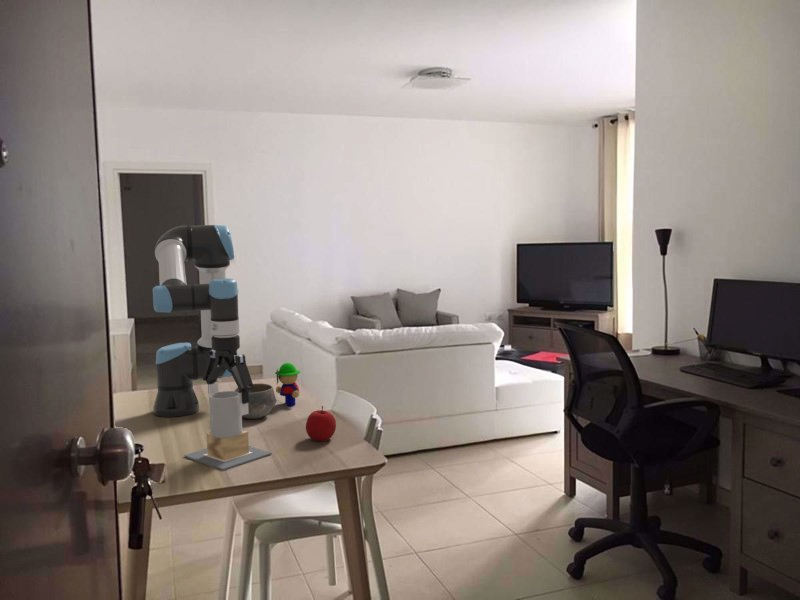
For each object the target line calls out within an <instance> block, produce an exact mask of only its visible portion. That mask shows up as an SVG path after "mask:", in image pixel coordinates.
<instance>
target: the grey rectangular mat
mask: <svg viewBox="0 0 800 600" xmlns="http://www.w3.org/2000/svg"><path fill="white" fill-rule="evenodd" d="M271 455H273V453H272V452H270V451H267V450H264V449H260V448H256V447H254V446H251V445H250V446H249V453H247V454H243V455H240V456H237V457H234V458H231V459H228V460H222V459H219V458H216V457H213V456H210V455H208V454H207V448H204V449H201V450H197V451H194V452H190V453H187V454H184V458H186V459H189V460H191V461H195V462H197V463H200V464H203V465H206V466H209V467H212V468H215V469H217V470H220V471H227V470H229V469H232V468H235V467H238V466H242V465H245V464H247V463H251V462H254V461H256V460H259V459H262V458H265V457H269V456H271Z"/></svg>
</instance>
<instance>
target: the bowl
mask: <svg viewBox="0 0 800 600" xmlns="http://www.w3.org/2000/svg"><path fill="white" fill-rule="evenodd" d="M248 386H249V385H248ZM253 386H254V389H252V390H249V403H248V411H249V414H246V415H242V418H245V419H250V420H257V419H260V418H263V417H265V416H267V415H268V414H269V413H271V411H272V409H273V408H274V406H275V405H276V403H277V401H278V400H277V399H276V395H275V390H274V387H273V386H272V385H271V384H268V383H253ZM242 387H243V386H242ZM234 391H235V392H238V391H239V388H238V386H236V388H235V390H234Z"/></svg>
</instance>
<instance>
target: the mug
mask: <svg viewBox="0 0 800 600" xmlns="http://www.w3.org/2000/svg"><path fill="white" fill-rule="evenodd" d="M208 402H209V404H208V406H209V420H210V421H209V423H210V424H209V425H210V429H209V431H210V432H211V436H212V437H215V438H231V437H236V436H238V435H240V434H242V430H243V416H239V408H238V392H235V390H234V391H233V390H232V391H231V390H226V391H224V390H223V391H218V392H217V393H213V394H211V395H210V396H209V395H208ZM210 432H209V433H210Z"/></svg>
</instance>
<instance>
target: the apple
mask: <svg viewBox="0 0 800 600" xmlns="http://www.w3.org/2000/svg"><path fill="white" fill-rule="evenodd" d="M336 429H337V421H336V418H335V416H334V415H333V414H332V413H331V412H329V411H327V410H324V406H323V405H321V410H317V409H316V410H314V411H313V412H311V413H309V415H308V417H307V419H306V423H305V432H306V434H307V435H308V437H309V438H310V440H312V441H314V442H327V441H328V440H330V439H331V438H332V437H333V436H334V434H335V432H336Z"/></svg>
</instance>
